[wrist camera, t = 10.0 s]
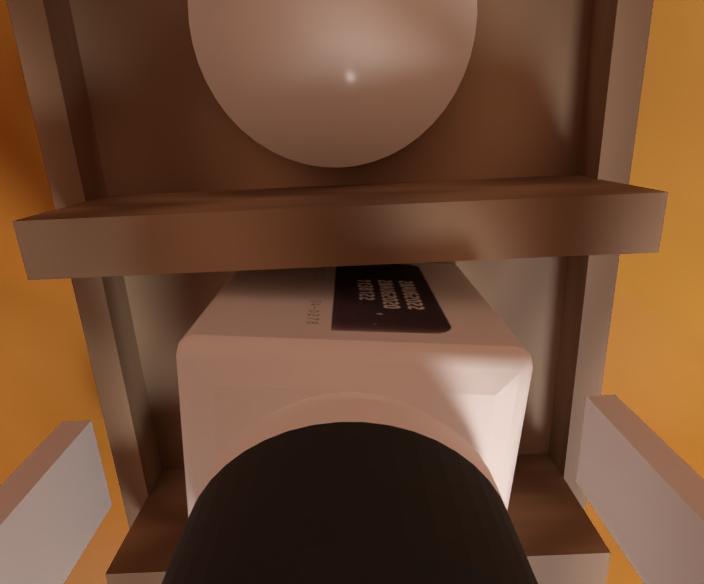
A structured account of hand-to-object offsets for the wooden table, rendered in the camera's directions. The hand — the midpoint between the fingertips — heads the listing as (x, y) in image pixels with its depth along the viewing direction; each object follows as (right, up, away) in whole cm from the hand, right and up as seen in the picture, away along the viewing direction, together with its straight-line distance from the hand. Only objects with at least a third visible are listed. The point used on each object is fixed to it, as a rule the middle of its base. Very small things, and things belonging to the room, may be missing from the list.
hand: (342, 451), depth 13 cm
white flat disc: (0, +13, +2) cm, 13 cm away
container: (0, +2, +6) cm, 6 cm away
